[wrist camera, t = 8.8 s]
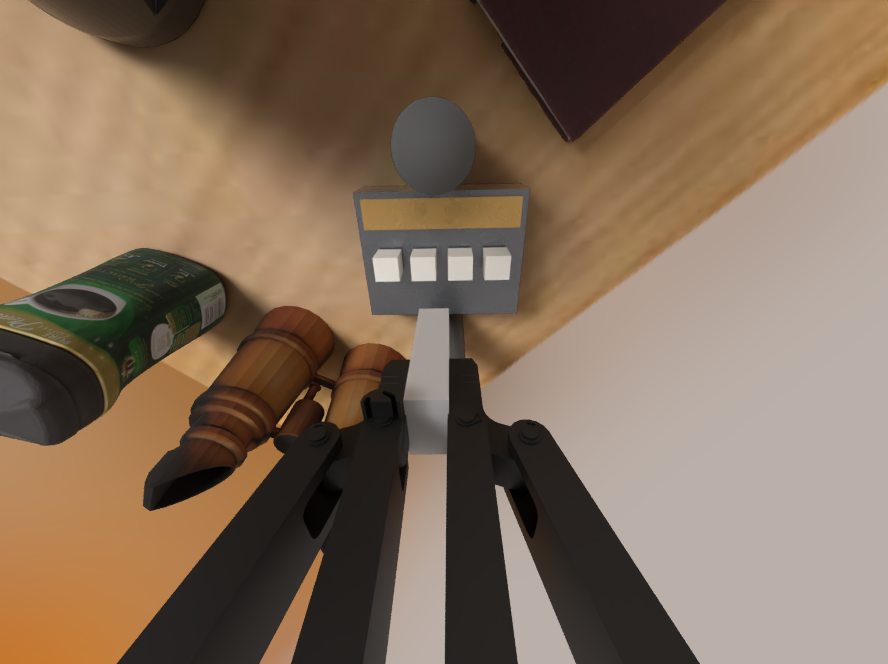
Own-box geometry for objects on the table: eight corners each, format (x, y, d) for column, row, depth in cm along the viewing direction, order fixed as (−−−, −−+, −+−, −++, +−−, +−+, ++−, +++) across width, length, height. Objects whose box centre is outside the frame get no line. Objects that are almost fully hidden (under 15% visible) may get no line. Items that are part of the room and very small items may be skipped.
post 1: (416, 118, 26) (386, 98, 14) (464, 117, 26) (477, 95, 14) (419, 172, 28) (395, 195, 16) (464, 172, 28) (474, 194, 16)
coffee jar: (138, 302, 35) (-121, 434, 19) (131, 235, 31) (-197, 330, 15) (229, 331, 37) (61, 475, 21) (233, 271, 33) (33, 391, 17)
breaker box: (364, 186, 29) (352, 193, 25) (520, 183, 28) (530, 189, 25) (380, 297, 34) (371, 315, 31) (509, 295, 34) (516, 314, 30)
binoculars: (421, 361, 39) (398, 536, 22) (393, 404, 42) (355, 582, 25) (270, 293, 34) (90, 443, 17) (254, 348, 38) (93, 516, 21)
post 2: (426, 305, 35) (413, 391, 23) (463, 304, 35) (469, 391, 23) (428, 336, 37) (417, 430, 25) (462, 336, 37) (468, 430, 25)
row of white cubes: (378, 249, 27) (372, 258, 25) (506, 247, 27) (511, 255, 25) (381, 271, 28) (375, 281, 26) (504, 269, 28) (509, 279, 26)
